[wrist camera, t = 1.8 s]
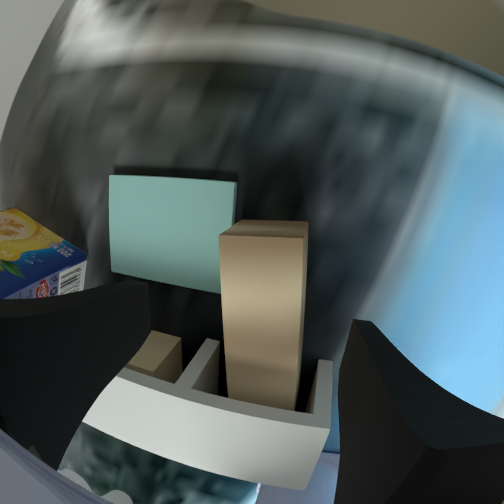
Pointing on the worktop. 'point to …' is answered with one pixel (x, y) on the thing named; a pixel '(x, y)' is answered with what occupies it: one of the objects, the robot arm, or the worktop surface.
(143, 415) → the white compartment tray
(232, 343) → the beech bar
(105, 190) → the worktop surface
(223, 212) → the teal mat
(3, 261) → the beverage box
